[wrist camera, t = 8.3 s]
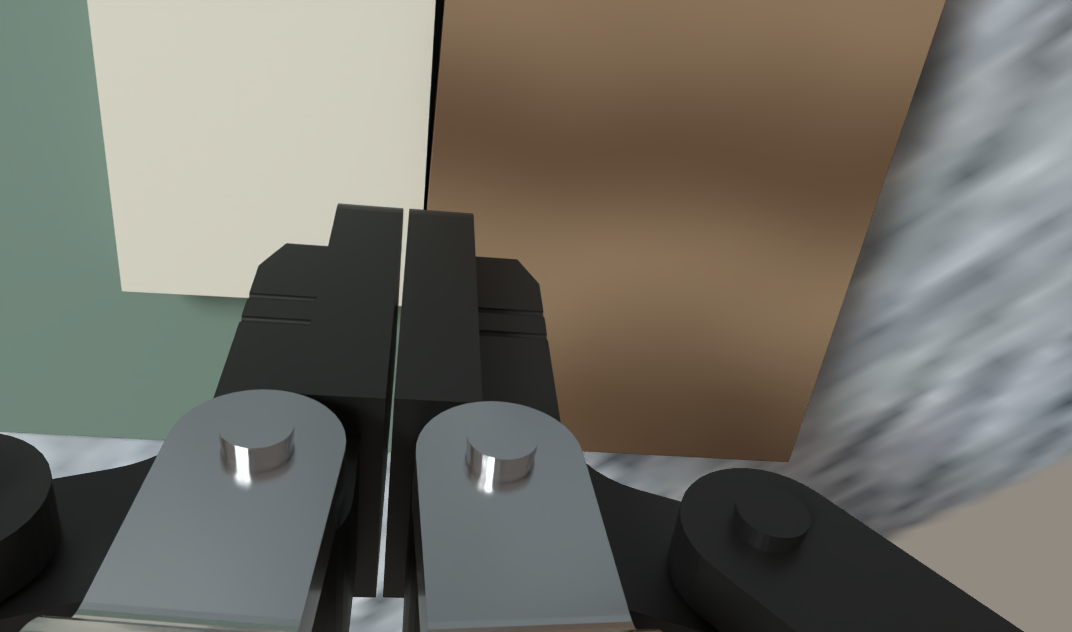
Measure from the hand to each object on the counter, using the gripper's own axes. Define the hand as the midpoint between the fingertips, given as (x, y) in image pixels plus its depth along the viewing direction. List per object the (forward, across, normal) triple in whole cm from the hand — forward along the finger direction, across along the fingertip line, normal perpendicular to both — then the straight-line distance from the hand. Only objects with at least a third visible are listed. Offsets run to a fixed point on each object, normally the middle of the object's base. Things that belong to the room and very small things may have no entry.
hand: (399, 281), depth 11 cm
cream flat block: (+10, +3, 0) cm, 10 cm away
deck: (+10, -5, +1) cm, 11 cm away
